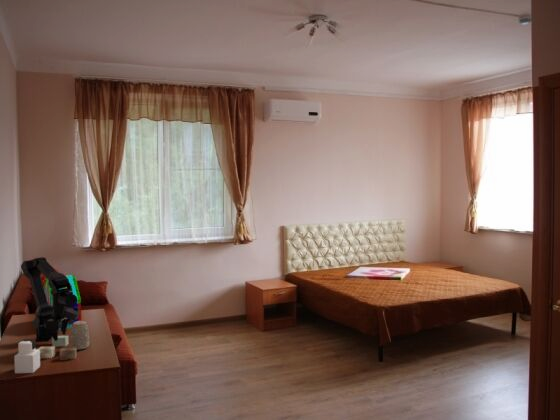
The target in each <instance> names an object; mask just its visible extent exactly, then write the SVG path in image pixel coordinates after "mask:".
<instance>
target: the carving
mask: <svg viewBox="0 0 560 420" xmlns="http://www.w3.org/2000/svg"><path fill="white" fill-rule="evenodd" d="M70 334H71V335H70V338H71V344H72V348H74V347H76V348H77V351H78V350H83V349H86V348H88V347H89V345H90V331H89V325H88V323H87V321H84V320H81V321H76V322H74V323H73V324H72V328H71V331H70Z"/></svg>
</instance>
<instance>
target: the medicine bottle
mask: <svg viewBox="0 0 560 420" xmlns="http://www.w3.org/2000/svg"><path fill="white" fill-rule="evenodd" d="M17 348H18V352H17V354H14V358H13V360H14V362H13V365H14V374H34V373H35V372H36V371H37V370H38V369H39V368H40V367H41V358H40V350H39V349H38V348H36V341H35V339H33V338H26V339H22V340H20V341H19V342H18V347H17ZM37 349H38V350H37Z"/></svg>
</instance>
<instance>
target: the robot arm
mask: <svg viewBox="0 0 560 420" xmlns="http://www.w3.org/2000/svg"><path fill="white" fill-rule="evenodd" d="M20 270H21V271H22V272H23V276H25V278H27V279H28V280H29V283H30V286H31V290H32V294H33V297H34V301H35V304H36V310H35V313H34V315H35V317H34V319H33V320H32V323H31V324H32V328H34V329H35V334H36V335H35V337H36V338H35V339H34V340H35V342H42V341H43V342H49V341H50V340H52V338H53V339H54V340H55V341H57V340H58V336H59V331H60V330H59V329H60V328H61V333H62V335H66V333H67V326H68V323H69V321H70V320H73V321H75V320H76V319H78V316H79V314H80V311H79V307H75V308H74V309H70V308H69V307H73V306H75V305H76V303H77V297H76V296H75V295H74V294H73V292H72V286H71V284H70V282H69V280H68V278H67V277H66V276H67V275H65V274H64V273H62V272H58V271H57V270H56V269H55V268H54V267H53V266H52V265H51V264H50V263H49V262H48V261H47V258H46V257H44V256H41V257H35V258H33V259H29V260H23V262H22V263H21V265H20ZM41 274H42V275H43V276H44V277H45V278H46V280H47V279H48V285H49V286H50V288H51V291H50V293H52V303H53V306H50V305H49V304H48V302H47V298H46V295H45V291H44V289H45V287H44V285H43V280H42V277H41ZM66 287H67V288H66ZM62 288H64V289H62Z"/></svg>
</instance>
